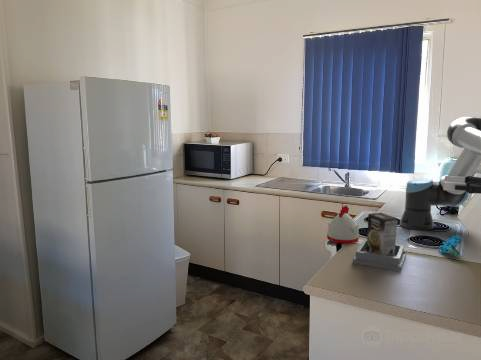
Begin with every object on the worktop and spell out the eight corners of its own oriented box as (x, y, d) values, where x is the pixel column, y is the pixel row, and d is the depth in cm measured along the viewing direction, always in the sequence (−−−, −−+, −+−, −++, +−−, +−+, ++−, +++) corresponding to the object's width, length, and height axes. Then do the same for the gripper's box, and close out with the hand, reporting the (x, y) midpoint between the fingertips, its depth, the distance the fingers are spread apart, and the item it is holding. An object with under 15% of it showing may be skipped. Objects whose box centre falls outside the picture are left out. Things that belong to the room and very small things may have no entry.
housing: (361, 249, 162) (362, 238, 161) (405, 256, 154) (406, 245, 153) (352, 263, 147) (353, 252, 146) (400, 271, 139) (401, 259, 138)
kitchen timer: (363, 237, 176) (365, 205, 174) (350, 245, 166) (351, 212, 164) (336, 231, 185) (337, 201, 183) (321, 239, 175) (322, 206, 173)
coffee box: (365, 253, 153) (367, 213, 150) (378, 250, 155) (380, 211, 153) (381, 261, 145) (384, 219, 142) (395, 258, 147) (397, 217, 144)
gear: (437, 243, 163) (457, 230, 158) (447, 254, 162) (468, 241, 157) (437, 256, 153) (459, 242, 148) (448, 267, 153) (471, 253, 148)
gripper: (522, 207, 115) (442, 200, 125) (511, 191, 137) (443, 186, 147) (525, 182, 114) (444, 177, 124) (513, 170, 136) (445, 167, 146)
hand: (443, 182), depth 136 cm, fingers open, 13 cm apart
